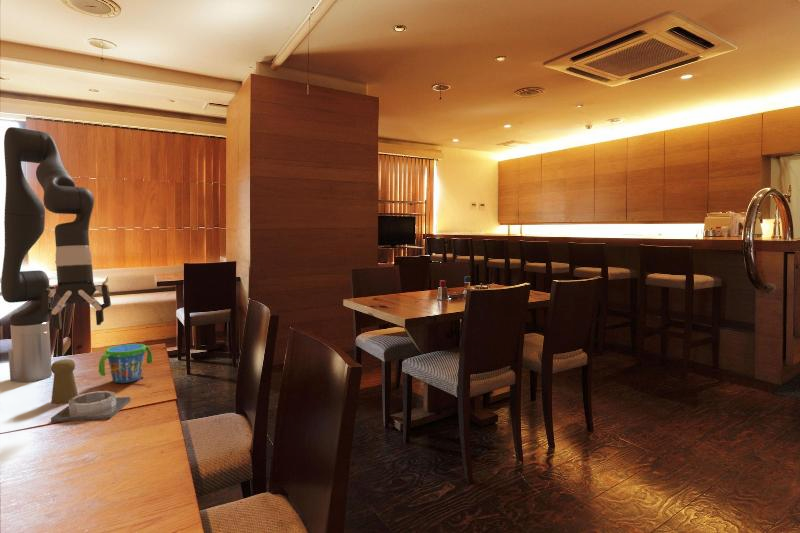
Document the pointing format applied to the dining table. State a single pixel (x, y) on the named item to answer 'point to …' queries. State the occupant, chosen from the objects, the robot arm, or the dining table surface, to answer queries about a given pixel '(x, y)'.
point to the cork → (63, 381)
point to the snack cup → (125, 362)
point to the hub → (92, 407)
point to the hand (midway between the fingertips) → (79, 326)
